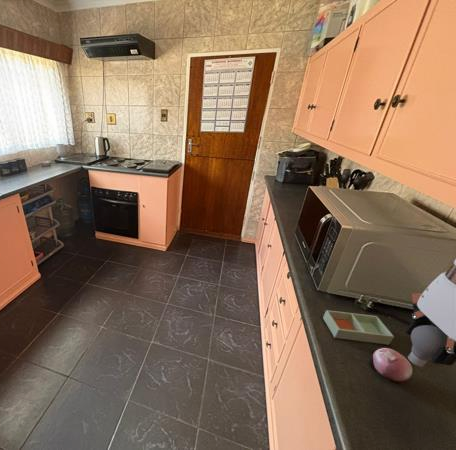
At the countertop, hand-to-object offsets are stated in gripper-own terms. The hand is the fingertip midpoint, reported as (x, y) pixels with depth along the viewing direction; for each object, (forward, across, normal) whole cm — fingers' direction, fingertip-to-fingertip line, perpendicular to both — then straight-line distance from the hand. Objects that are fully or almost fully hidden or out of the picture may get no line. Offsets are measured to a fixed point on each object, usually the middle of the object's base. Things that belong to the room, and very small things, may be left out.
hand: (426, 347), depth 52 cm
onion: (+20, +8, -5) cm, 22 cm away
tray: (+20, +21, -4) cm, 30 cm away
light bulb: (+5, 0, 0) cm, 5 cm away
